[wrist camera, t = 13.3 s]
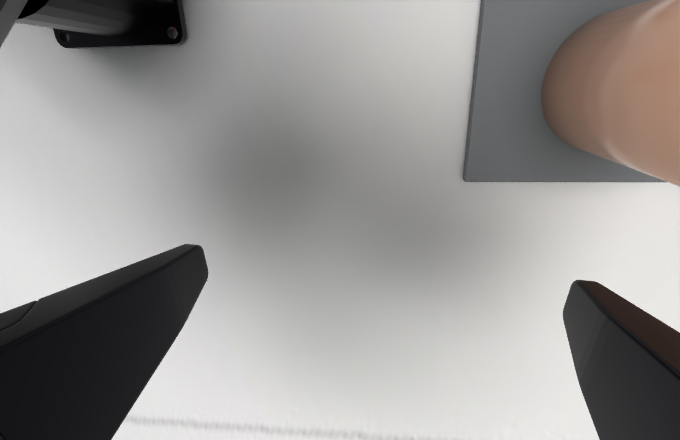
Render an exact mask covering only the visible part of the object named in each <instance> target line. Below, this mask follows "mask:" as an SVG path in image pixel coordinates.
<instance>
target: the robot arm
mask: <svg viewBox="0 0 680 440" xmlns="http://www.w3.org/2000/svg"><path fill="white" fill-rule="evenodd" d="M14 23H21V24H28V25H35V26H41V27H48V28H53V30H54V33H55V37H56V39H57V42H58V43H59V44H60V45H61V46H63V47H65V48H72V49H80V48H109V47H139V46H168V45H181V44H183V43H184V42H185V40H186V35H187V33H186V27H185V21H184V14H183V8H182V2H181V0H0V47H1V46H2V44H3V42H4V40H5V39H6V37H7V35H8V34H9V32H10V30H11V28H12V27H13V25H14ZM173 28H175V29H176V30H177V32H178V34H177V37H176V38H173V36H172V30H173ZM67 33H68V34H69V36H70V41H68V40H67V38H66V35H67ZM207 278H208V268H207V264H206V259H205V255H204V251H203V249H202V247H201V246H199V245H192V244H184V245H181V246H179V247H176V248H174V249H171V250H168V251H166V252H163V253H160V254H158V255H155V256H152V257H150V258H147V259H144V260H142V261H139V262H136V263H134V264H131V265H128V266H126V267H123V268H120V269H118V270H115V271H112V272H110V273H107V274H105V275H102V276H99V277H97V278H94V279H91V280H89V281H86V282H83V283H81V284H78V285H75V286H73V287H70V288H67V289H65V290H62V291H59V292H57V293H54V294H51V295H49V296H46V297H44V298H41V299H39V300H38V301H33V302H30V303H27V304H25V305H22V306H19V307H17V308H14V309H11V310H9V311H6V312H3V313H0V440H111V439H112V438H113V436H114V435H115V433H116V431H117V430H118V428H119V427H120V425H121V424H122V422H123V420H124V419H125V417H126V416H127V414H128V413H129V411H130V410H131V408H132V406H133V405H134V403H135V402H136V400H137V399H138V397H139V395H140V394H141V392H142V391H143V389H144V388H145V386H146V384H147V383H148V381H149V380H150V378H151V377H152V375H153V374H154V372H155V370H156V369H157V367H158V366H159V364H160V363H161V361H162V359H163V358H164V356H165V355H166V353H167V352H168V350H169V348H170V347H171V345H172V344H173V342H174V341H175V339H176V337H177V336H178V334H179V333H180V331H181V329H182V328H183V326H184V324H185V322H186V320H187V318H188V316H189V314H190V313H191V311H192V309H193V307H194V305H195V303H196V301H197V299H198V297H199V295H200V293H201V291H202V289H203V287H204V285H205V283H206V281H207ZM563 320H564V324H565V328H566V333H567V337H568V341H569V345H570V349H571V353H572V357H573V362H574V366H575V370H576V374H577V378H578V381H579V384H580V387H581V390H582V393H583V396H584V399H585V401H586V404H587V407H588V409H589V412H590V415H591V418H592V420H593V423H594V426H595V428H596V431H597V434H598V436H599V439H600V440H680V333H679V332H678V331H676V330H674V329H673V328H671V327H669V326H668V325H666V324H665V323H663V322H661V321H660V320H658V319H656V318H655V317H653V316H652V315H650V314H648V313H647V312H645V311H643V310H642V309H640V308H639V307H637V306H635V305H634V304H632V303H630V302H629V301H627V300H625V299H624V298H622V297H621V296H619V295H617V294H616V293H614V292H612V291H611V290H609V289H608V288H606V287H604V286H603V285H601V284H599V283H598V282H595V281H585V280H576V281H574V282H573V283H572V285H571V288H570V291H569V294H568V297H567V300H566V303H565V306H564V309H563Z"/></svg>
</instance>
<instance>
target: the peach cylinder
mask: <svg viewBox="0 0 680 440" xmlns="http://www.w3.org/2000/svg"><path fill="white" fill-rule="evenodd" d="M541 103H542V109H543V114H544V117H545V120H546V122H547V124H548V125H549V127H550V129H551V130H552V131H553V133H554V134H555V135H556V136H557V137H558V138H559V139H561V140H562V141H564V142H565V143H567V144H569V145H571V146H573V147H575V148H578V149H580V150H583V151H586V152H589V153H591V154H594V155H597V156H599V157H602V158H605V159H607V160H610V161H613V162H615V163H618V164H621V165H623V166H626V167H629V168H632V169H634V170H637V171H640V172H642V173H645V174H648V175H650V176H653V177H656V178H658V179H661V180H664V181H666V182H669V183H672V184H675V185H677V186H680V0H649V1H645V2H641V3H638V4H634V5H631V6H627V7H624V8H620V9H617V10H613V11H610V12H607V13H604V14H602V15H599V16H597V17H595V18H593V19H591V20H590V21H588V22H586V23H585V24H584V25H582V26H581V27H579V28H578V29H577V30H576V31H574V32H573V33H572V34H571V35H570V36H569V37H568V38H567V39H566V40H565V41H564V42H563V44H562V45H561V46H560V47H559V49H558V50H557V51H556V53H555V55H554V56H553V58H552V59H551V62H550V64H549V66H548V68H547V70H546V73H545V76H544V80H543V85H542V93H541Z"/></svg>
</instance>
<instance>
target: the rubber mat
mask: <svg viewBox="0 0 680 440" xmlns="http://www.w3.org/2000/svg"><path fill="white" fill-rule="evenodd" d="M645 1H649V0H481V10H480V19H479V29H478V39H477V48H476V58H475V68H474V77H473V87H472V97H471V106H470V116H469V126H468V135H467V145H466V155H465V164H464V174H463V179H464V180H465V182H666V181H664V180H661V179H658V178H656V177H653V176H650V175H648V174H645V173H642V172H640V171H637V170H634V169H632V168H629V167H626V166H623V165H621V164H618V163H615V162H613V161H610V160H607V159H605V158H602V157H599V156H597V155H594V154H591V153H589V152H586V151H583V150H580V149H578V148H575V147H573V146H571V145H569V144H567V143H565V142H564V141H562V140H561V139H559V138H558V137H557V136H556V135H555V134H554V133H553V131H552V130H551V129H550V127H549V125H548V124H547V122H546V120H545V117H544V114H543V109H542V103H541V93H542V85H543V80H544V76H545V73H546V70H547V68H548V66H549V64H550V62H551V59H552V58H553V56H554V55H555V53H556V51H557V50H558V49H559V47H560V46H561V45H562V44H563V42H564V41H565V40H566V39H567V38H568V37H569V36H570V35H571V34H572V33H573V32H574V31H576V30H577V29H578V28H579V27H581V26H582V25H584V24H585V23H586V22H588V21H590V20H591V19H593V18H595V17H597V16H599V15H602V14H604V13H607V12H610V11H613V10H617V9H620V8H624V7H627V6H631V5H634V4H638V3H641V2H645Z"/></svg>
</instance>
